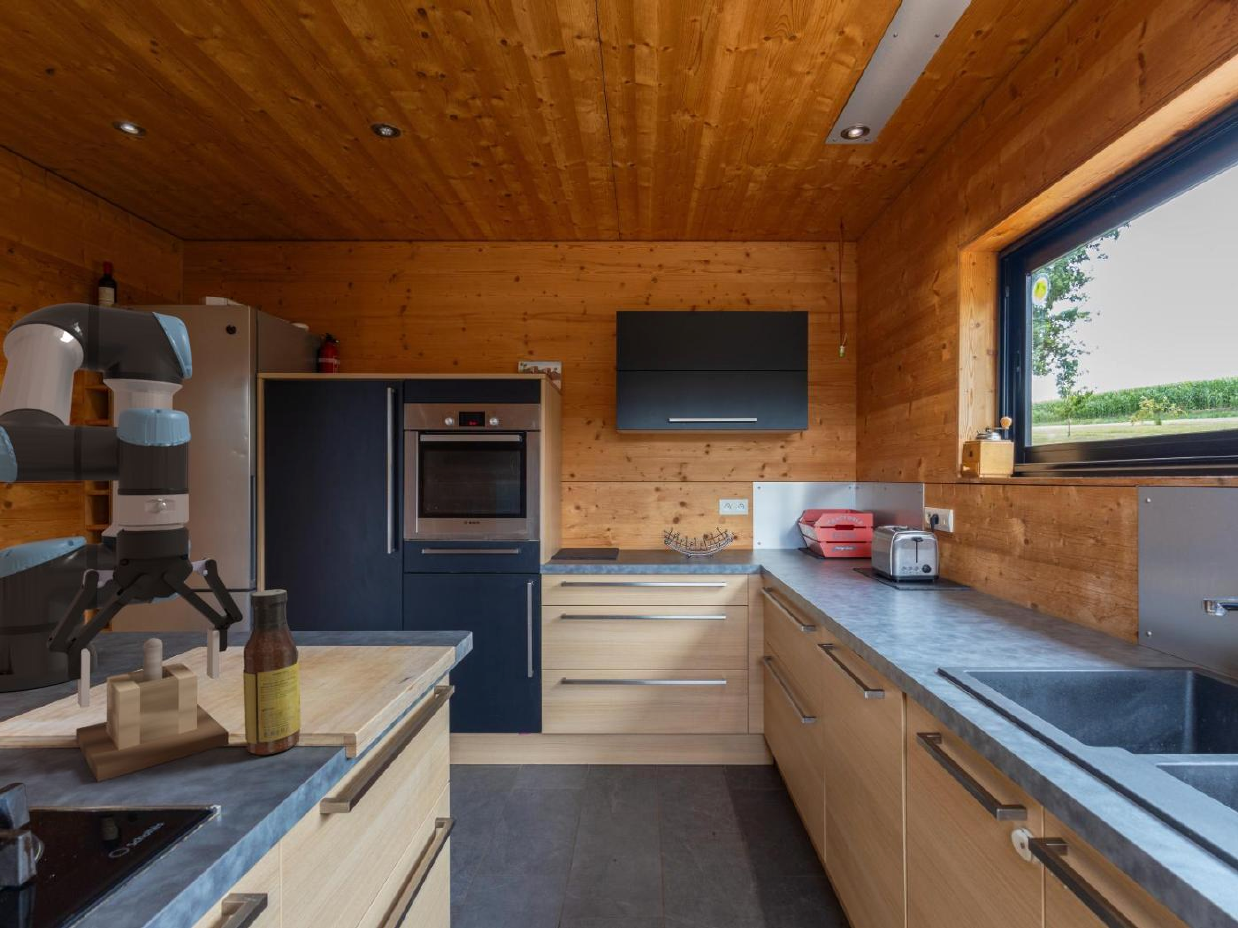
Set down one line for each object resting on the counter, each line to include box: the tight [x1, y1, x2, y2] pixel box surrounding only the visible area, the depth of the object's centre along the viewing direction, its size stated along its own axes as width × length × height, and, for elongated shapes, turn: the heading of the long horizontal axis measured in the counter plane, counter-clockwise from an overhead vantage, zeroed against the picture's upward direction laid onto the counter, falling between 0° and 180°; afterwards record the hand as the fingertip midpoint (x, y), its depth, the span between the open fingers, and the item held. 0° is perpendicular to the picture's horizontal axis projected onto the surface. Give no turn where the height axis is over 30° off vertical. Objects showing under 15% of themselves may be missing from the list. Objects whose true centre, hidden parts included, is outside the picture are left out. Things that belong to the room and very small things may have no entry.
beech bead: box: [106, 662, 198, 750], centre depth 80 cm, size 8×8×7 cm
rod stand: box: [75, 637, 230, 783], centre depth 79 cm, size 16×13×14 cm
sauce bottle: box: [242, 588, 302, 756], centre depth 78 cm, size 7×6×20 cm
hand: (152, 689), depth 80 cm, fingers open, 13 cm apart
